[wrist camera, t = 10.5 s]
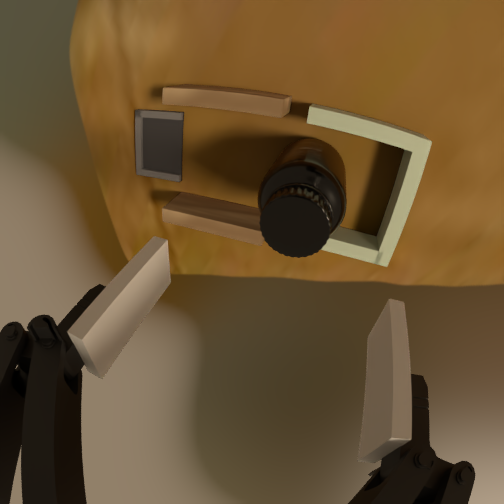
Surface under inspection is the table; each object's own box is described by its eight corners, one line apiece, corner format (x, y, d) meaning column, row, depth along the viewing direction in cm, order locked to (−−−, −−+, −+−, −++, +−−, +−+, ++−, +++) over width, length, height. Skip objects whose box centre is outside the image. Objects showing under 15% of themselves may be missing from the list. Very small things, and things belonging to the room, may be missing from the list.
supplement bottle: (266, 180, 31) (227, 238, 21) (297, 124, 27) (269, 155, 17) (323, 213, 31) (311, 285, 22) (358, 160, 27) (367, 213, 17)
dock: (312, 103, 25) (309, 106, 23) (423, 134, 24) (432, 141, 21) (289, 226, 33) (284, 240, 31) (384, 251, 31) (387, 266, 29)
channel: (185, 84, 27) (162, 87, 24) (292, 96, 25) (283, 99, 22) (181, 204, 35) (162, 221, 32) (271, 224, 34) (261, 245, 30)
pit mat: (138, 109, 30) (135, 110, 29) (183, 112, 29) (181, 113, 28) (139, 172, 35) (136, 174, 34) (181, 180, 34) (179, 181, 33)
